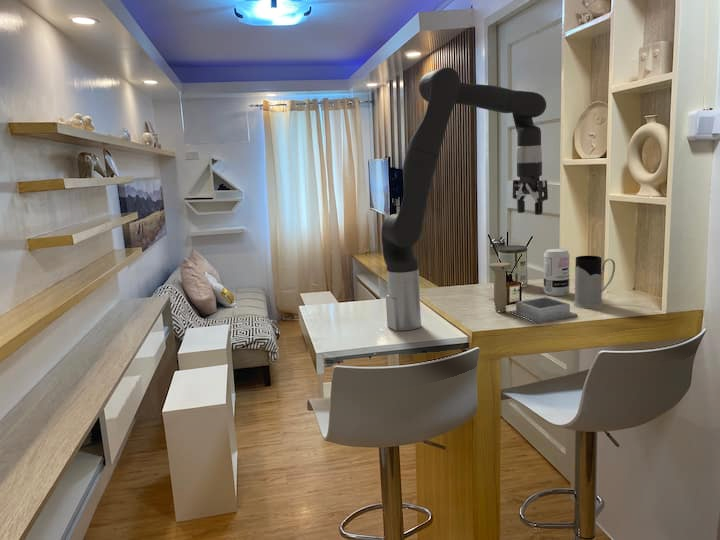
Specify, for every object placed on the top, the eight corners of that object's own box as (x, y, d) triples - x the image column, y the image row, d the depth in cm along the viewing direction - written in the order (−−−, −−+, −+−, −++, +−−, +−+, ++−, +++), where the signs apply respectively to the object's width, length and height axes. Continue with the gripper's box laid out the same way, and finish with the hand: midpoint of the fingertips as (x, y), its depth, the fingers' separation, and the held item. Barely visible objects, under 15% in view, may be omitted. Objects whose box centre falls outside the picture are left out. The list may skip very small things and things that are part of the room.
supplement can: (548, 290, 210) (548, 247, 207) (572, 292, 205) (572, 248, 202) (540, 295, 203) (540, 251, 201) (565, 297, 199) (565, 252, 196)
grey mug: (567, 303, 191) (567, 257, 188) (604, 297, 195) (604, 252, 192) (585, 309, 183) (585, 261, 180) (623, 303, 187) (624, 256, 184)
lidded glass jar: (504, 281, 227) (503, 244, 225) (531, 283, 222) (530, 245, 219) (494, 287, 219) (493, 249, 216) (522, 289, 213) (522, 250, 211)
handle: (513, 312, 185) (512, 264, 182) (493, 314, 184) (492, 266, 181) (507, 308, 190) (506, 261, 187) (488, 310, 189) (487, 263, 186)
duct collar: (538, 323, 172) (538, 311, 171) (509, 313, 185) (509, 301, 184) (577, 316, 177) (577, 304, 176) (546, 306, 190) (546, 295, 189)
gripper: (505, 162, 190) (506, 213, 193) (534, 161, 177) (534, 216, 180) (524, 160, 193) (525, 211, 196) (554, 160, 180) (554, 214, 183)
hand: (529, 213), depth 188 cm, fingers open, 8 cm apart
